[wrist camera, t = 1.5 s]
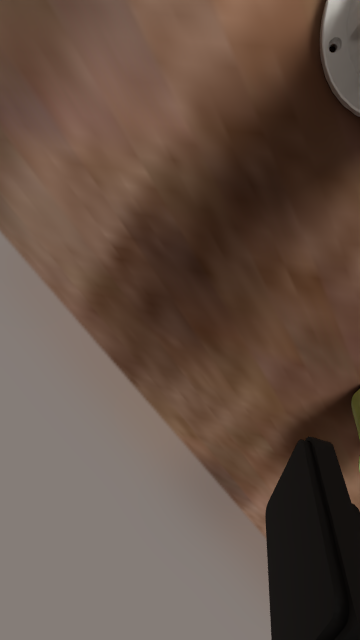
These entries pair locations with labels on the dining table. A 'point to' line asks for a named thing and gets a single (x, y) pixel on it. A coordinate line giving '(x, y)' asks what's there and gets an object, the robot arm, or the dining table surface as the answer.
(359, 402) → the plant pot
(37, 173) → the dining table surface
